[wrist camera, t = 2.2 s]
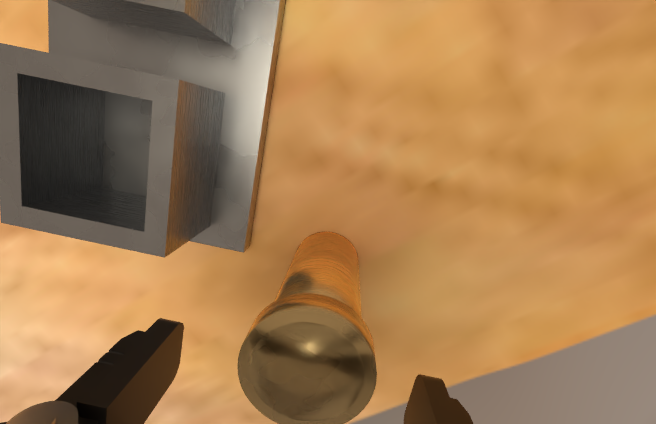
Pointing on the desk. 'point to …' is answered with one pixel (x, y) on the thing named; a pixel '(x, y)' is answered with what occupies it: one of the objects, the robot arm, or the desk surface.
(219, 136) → the grey double holder
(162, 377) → the robot arm
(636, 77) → the desk surface
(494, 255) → the desk surface
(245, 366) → the brass stub
